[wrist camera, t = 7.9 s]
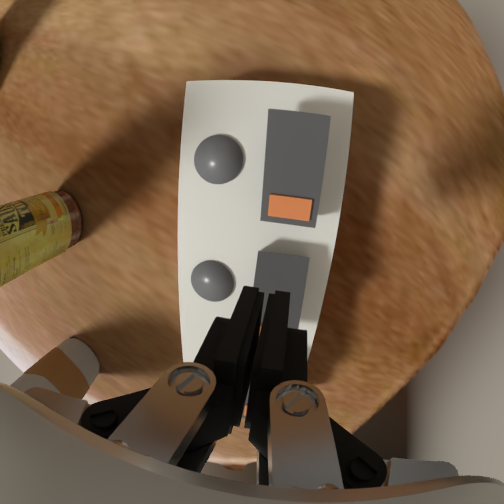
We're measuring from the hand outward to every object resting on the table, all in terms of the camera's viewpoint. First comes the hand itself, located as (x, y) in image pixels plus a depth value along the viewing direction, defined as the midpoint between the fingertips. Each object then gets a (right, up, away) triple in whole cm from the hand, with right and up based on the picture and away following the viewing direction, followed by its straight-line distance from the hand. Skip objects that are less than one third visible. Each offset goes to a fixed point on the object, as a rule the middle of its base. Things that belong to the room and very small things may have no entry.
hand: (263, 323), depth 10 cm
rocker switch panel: (0, +1, +12) cm, 12 cm away
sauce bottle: (-19, +6, +14) cm, 25 cm away
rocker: (+2, +7, +4) cm, 8 cm away
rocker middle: (+1, -1, +7) cm, 7 cm away
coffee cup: (-23, -11, +21) cm, 33 cm away
